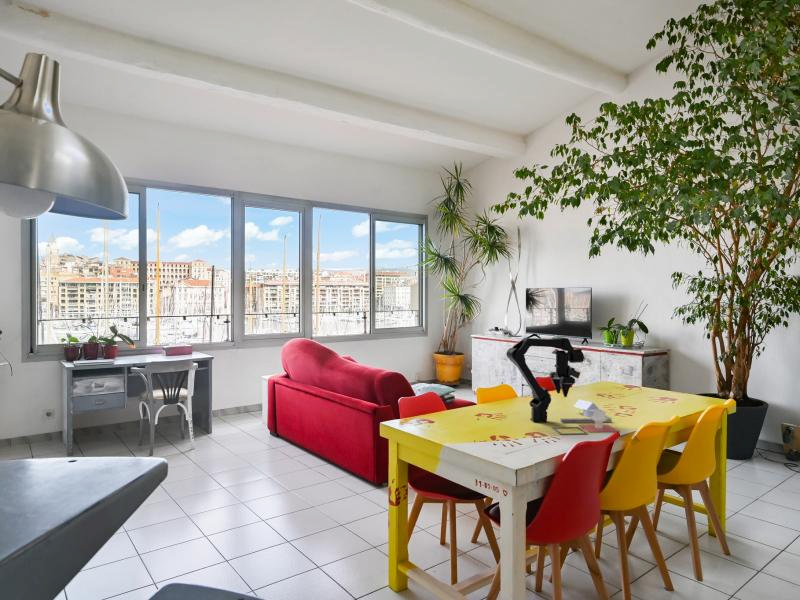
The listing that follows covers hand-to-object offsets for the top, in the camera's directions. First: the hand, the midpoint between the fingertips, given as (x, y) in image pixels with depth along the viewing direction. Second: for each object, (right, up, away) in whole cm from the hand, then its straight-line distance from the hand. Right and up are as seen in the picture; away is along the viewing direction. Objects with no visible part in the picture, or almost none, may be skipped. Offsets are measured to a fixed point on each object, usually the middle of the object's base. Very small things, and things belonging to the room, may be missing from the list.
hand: (561, 395), depth 255 cm
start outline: (-3, -12, -21) cm, 25 cm away
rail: (+10, -12, -4) cm, 16 cm away
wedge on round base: (+17, -12, +11) cm, 24 cm away
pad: (+12, -12, -16) cm, 23 cm away
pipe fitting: (+12, -12, -16) cm, 23 cm away
